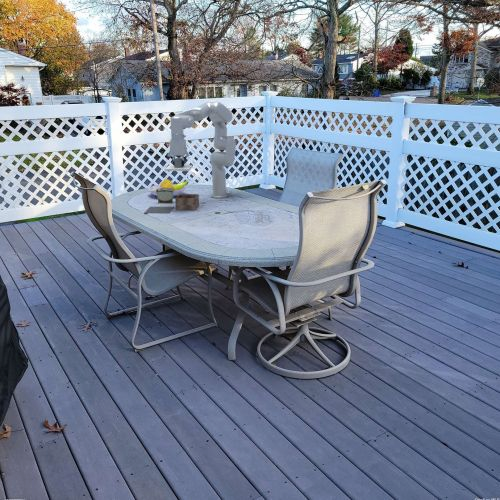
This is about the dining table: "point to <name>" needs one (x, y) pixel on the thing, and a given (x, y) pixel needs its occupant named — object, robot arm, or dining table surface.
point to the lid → (178, 166)
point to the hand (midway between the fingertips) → (178, 166)
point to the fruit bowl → (168, 184)
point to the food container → (165, 195)
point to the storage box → (187, 201)
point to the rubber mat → (158, 210)
